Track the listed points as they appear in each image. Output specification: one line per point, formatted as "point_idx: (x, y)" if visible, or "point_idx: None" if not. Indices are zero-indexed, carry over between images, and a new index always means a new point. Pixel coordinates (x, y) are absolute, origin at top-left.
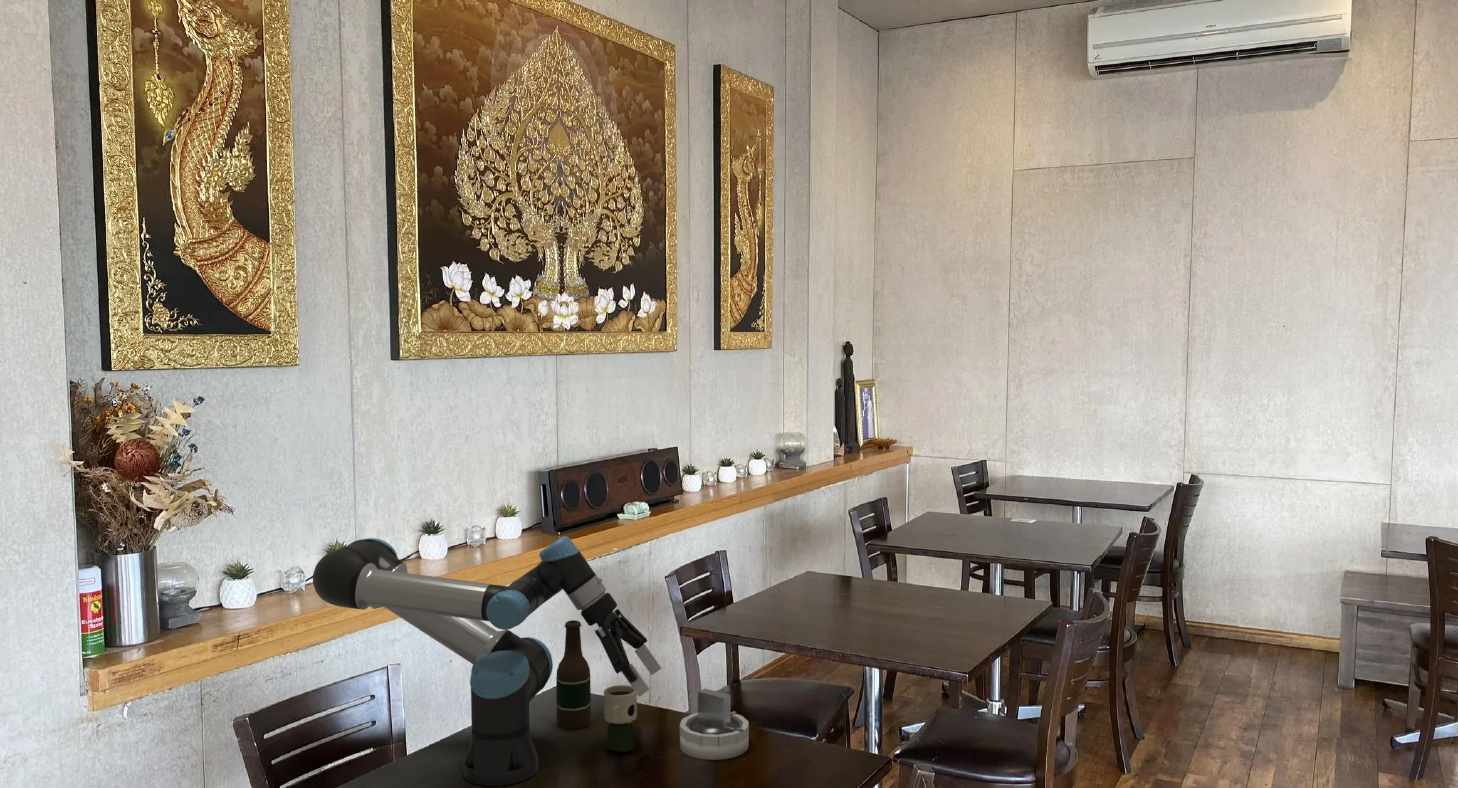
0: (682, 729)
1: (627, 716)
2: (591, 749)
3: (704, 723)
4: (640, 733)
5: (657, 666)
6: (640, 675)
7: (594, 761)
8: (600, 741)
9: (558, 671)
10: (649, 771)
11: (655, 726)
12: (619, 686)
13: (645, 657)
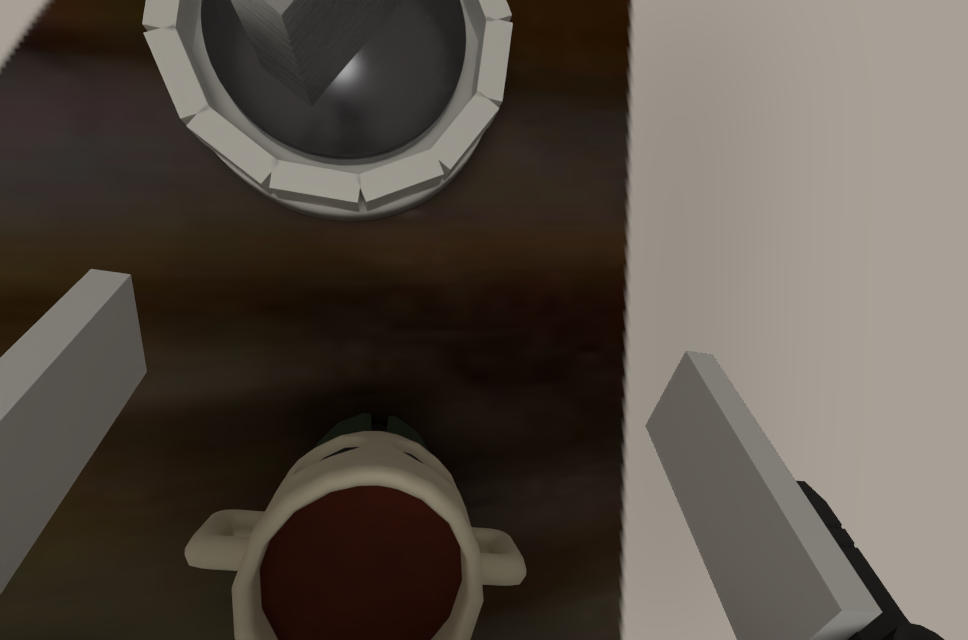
0: (402, 189)
1: (452, 479)
2: None
3: (337, 73)
4: (188, 404)
5: (114, 314)
6: (756, 455)
7: None
8: None
9: None
10: (586, 336)
11: None
12: (252, 617)
13: (33, 474)
